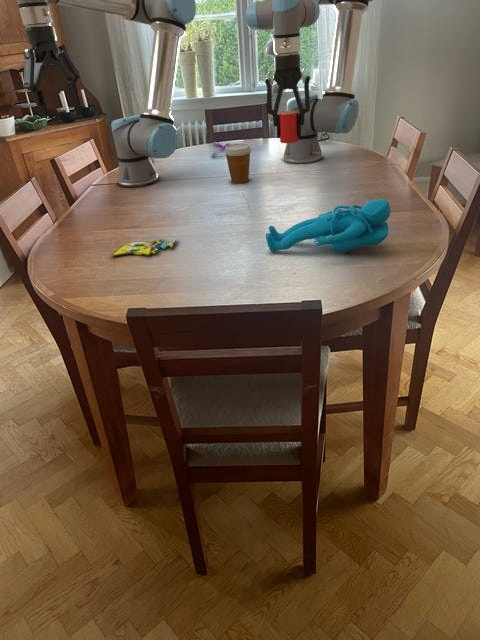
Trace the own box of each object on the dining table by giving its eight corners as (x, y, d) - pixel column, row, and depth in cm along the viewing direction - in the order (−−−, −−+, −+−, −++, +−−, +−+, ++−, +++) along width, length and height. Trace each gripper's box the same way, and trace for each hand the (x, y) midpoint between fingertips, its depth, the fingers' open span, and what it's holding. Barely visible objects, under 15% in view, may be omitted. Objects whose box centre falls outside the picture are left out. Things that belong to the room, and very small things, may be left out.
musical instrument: (233, 161, 200) (257, 143, 213) (232, 156, 199) (256, 138, 211) (189, 161, 213) (214, 143, 225) (188, 156, 212) (212, 139, 224)
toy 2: (270, 213, 128) (386, 185, 117) (281, 248, 133) (393, 225, 122) (259, 239, 114) (389, 210, 104) (272, 277, 119) (397, 254, 109)
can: (280, 144, 152) (279, 115, 147) (279, 139, 156) (278, 111, 152) (299, 142, 151) (298, 113, 146) (297, 138, 156) (297, 109, 151)
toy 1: (167, 253, 124) (112, 254, 126) (167, 256, 124) (112, 257, 126) (176, 237, 132) (124, 238, 134) (176, 240, 133) (125, 241, 135)
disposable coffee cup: (222, 184, 172) (219, 149, 166) (233, 176, 180) (230, 142, 173) (247, 185, 169) (245, 150, 163) (256, 177, 176) (254, 143, 170)
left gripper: (13, 28, 118) (39, 120, 129) (80, 22, 136) (98, 103, 148) (-9, 30, 120) (19, 120, 132) (60, 24, 139) (79, 103, 151)
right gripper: (253, 57, 139) (258, 140, 152) (318, 52, 135) (318, 138, 148) (257, 55, 145) (262, 134, 158) (320, 50, 141) (319, 132, 154)
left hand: (61, 111), depth 140 cm, fingers open, 13 cm apart
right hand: (289, 136), depth 153 cm, fingers closed on can, 6 cm apart
